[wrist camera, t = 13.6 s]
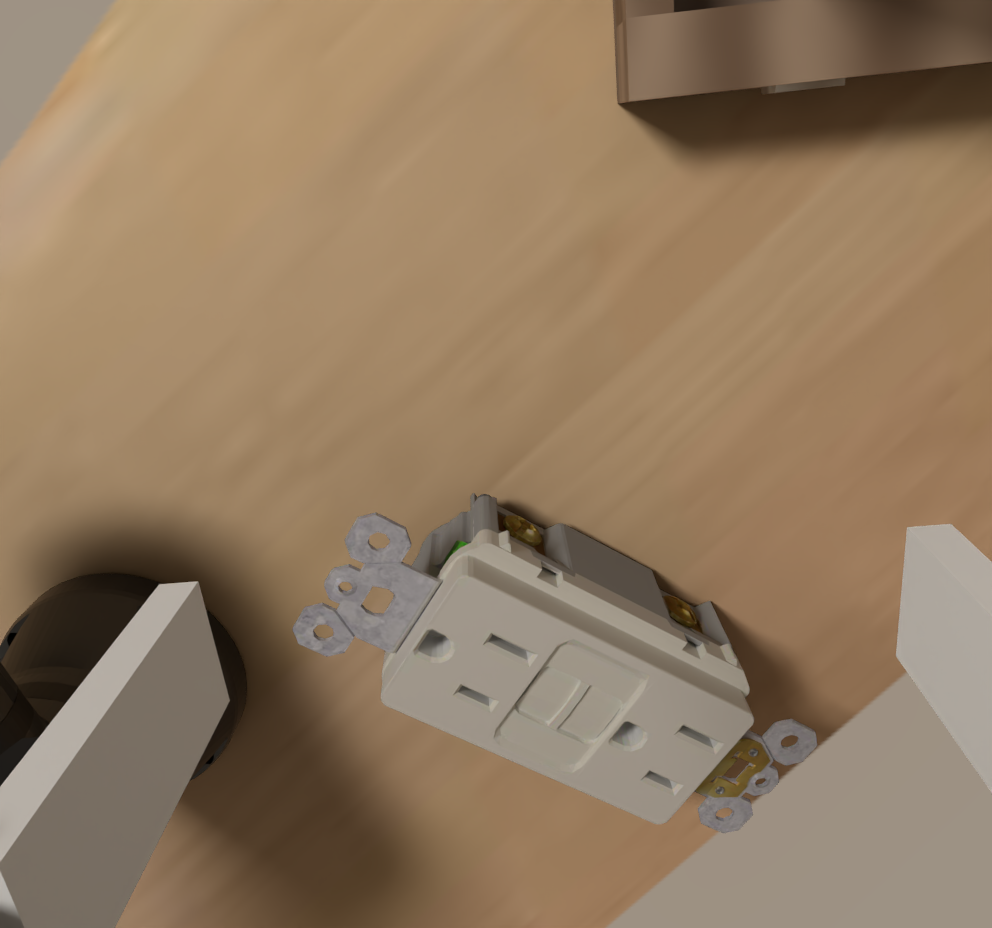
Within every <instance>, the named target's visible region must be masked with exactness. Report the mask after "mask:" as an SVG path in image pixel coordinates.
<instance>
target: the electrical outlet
mask: <svg viewBox="0 0 992 928" xmlns="http://www.w3.org/2000/svg"><path fill="white" fill-rule="evenodd" d="M376 532H379V533H383V534H386V535H387V537H388V538H389V540H390V543H389V544H388V545H387V546H386V547H385V548H380V549H376V548H374V547H373V546H372V545H370V544H369V536H370V535H372V534H374V533H376ZM345 543H346V546H347V549H348V551H349V554H350V557H351V558H353V559H355V560H358V561H360V562H362V563H365V564H364V565H363V567H362V569H359V568H356V567H354V566H352V565H350V564H348V565H344V566H340V567H336V568H333V569H332V570H331V572H330V573H329V575H328V577H327V578H326V580H325V584H324V587H325V589H326V592H327V594H328V597H329V599H330V600H333V601H335V602H337V603H339V604H340V605H339V607H338V608H337V609H335V608H333V607H331V606H329V605H326V604H324V603H319V604H315V605H311V606H307V607H305V608H304V609H303V611H302V613H301V614H300V616H299V618H298V619H297V621H296V623H295V625H294V626H293V632H294V634H295V636H296V639H297V641H298V643H299V644H300V645H302V646H304V647H307V648H309V649H311V650H313V651H316V652H318V653H320V654H322V655H325V656H332V655H336V654H340V653H345V651H346V649H347V648H348V646H349V645H350V643H351V641H352V640H353V638H354V636H356V637H357V638H359V639H361V640H363V641H365V642H367V643H370V644H372V645H374V646H376V647H378V648H381V649H383V650H385V656H384V663H383V670H382V690H381V701H382V702H383V704H384V705H385V706H388V707H390V708H392V709H394V710H397V711H399V712H401V713H403V714H406V715H408V716H410V717H413V718H415V719H417V720H419V721H422V722H424V723H426V724H429V725H431V726H433V727H435V728H438V729H440V730H442V731H444V732H447V733H449V734H451V735H454V736H456V737H458V738H460V739H463V740H465V741H467V742H470V743H472V744H474V745H476V746H479V747H481V748H483V749H485V750H488V751H490V752H492V753H495V754H497V755H499V756H501V757H504V758H506V759H508V760H511V761H513V762H515V763H517V764H520V765H522V766H524V767H526V768H529V769H531V770H533V771H536V772H538V773H540V774H542V775H545V776H547V777H549V778H552V779H554V780H556V781H558V782H561V783H563V784H565V785H567V786H570V787H572V788H574V789H577V790H579V791H581V792H583V793H586V794H588V795H590V796H593V797H595V798H597V799H599V800H602V801H604V802H606V803H608V804H611V805H613V806H615V807H618V808H620V809H622V810H624V811H627V812H629V813H631V814H634V815H636V816H638V817H640V818H643V819H645V820H647V821H649V822H652V823H654V824H663V823H666V822H667V821H668V820H669V819H670V818H671V817H672V816H673V815H674V813H675V812H676V811H677V810H678V809H679V808H680V807H681V806H682V804H683V803H684V802H685V801H686V800H687V799H688V798H689V796H690V795H691V794H692V793H693V792H697V793H699V794H701V795H703V796H705V797H707V798H706V799H705V801H704V802H703V803H702V804H701V805H700V806H699V807H698V812H699V817H700V821H701V824H703V825H706V826H708V827H710V828H712V829H715V830H717V831H719V832H721V833H727V832H732V831H737V830H739V829H740V828H741V827H742V826H743V825H744V824H745V823H746V822H747V821H748V820H749V819H750V818H751V816H752V815H753V813H752V807H751V802H750V800H749V799H747V798H745V797H743V796H742V795H743V794H744V793H745V792H747V793H749V794H751V795H753V796H757V795H762V794H766V793H769V792H771V791H772V790H773V788H774V787H775V786H776V785H777V784H778V783H779V779H778V771H777V769H776V767H774V766H772V765H771V764H772V762H773V761H774V759H775V760H776V761H777V762H779V763H781V764H783V765H785V766H786V765H790V764H795V763H800V762H803V761H804V760H805V758H806V757H807V756H808V755H809V754H810V753H811V752H812V751H813V750H814V749H815V748H816V747H817V739H816V733H815V731H814V730H813V729H811V728H809V727H807V726H805V725H803V724H801V723H799V722H797V721H795V720H793V719H787V720H783V721H778V722H774V723H773V724H772V726H771V727H770V728H769V729H768V730H767V731H766V732H765V733H764V734H763V736H760V735H758V734H756V733H754V732H752V731H750V730H749V728H750V727H751V726H752V725H753V723H754V717H753V714H752V712H751V710H750V708H749V706H748V703H747V701H746V699H745V698H746V696H747V695H748V694H749V690H750V688H749V685H748V682H747V679H746V677H745V674H744V671H743V669H742V667H741V665H740V663H739V660H738V658H737V656H736V654H735V652H734V650H733V648H732V646H731V644H730V642H729V640H728V637H727V635H726V633H725V631H724V629H723V627H722V625H721V623H720V621H719V619H718V617H717V614H716V612H715V610H714V608H713V606H712V604H711V602H710V601H708V602H705V603H703V604H701V605H698V606H696V607H693V606H691V605H689V604H687V603H685V602H684V601H683V600H681V599H679V598H677V597H674V596H672V595H670V594H668V593H666V592H664V591H662V590H660V589H659V588H658V585H657V583H656V580H655V577H654V575H653V572H652V570H650V569H649V568H647V567H645V566H643V565H641V564H639V563H637V562H635V561H633V560H631V559H629V558H628V557H626V556H624V555H622V554H620V553H618V552H616V551H614V550H612V549H610V548H608V547H607V546H605V545H603V544H601V543H599V542H597V541H595V540H593V539H591V538H589V537H587V536H586V535H584V534H582V533H580V532H578V531H576V530H574V529H572V528H570V527H568V526H566V525H564V524H556V525H554V526H552V527H549V528H547V529H545V530H544V529H543V528H541V527H539V526H537V525H535V524H533V523H531V522H529V521H527V520H526V519H524V518H522V517H520V516H517V515H515V514H514V513H512V512H510V511H508V510H506V509H504V508H502V507H500V506H498V505H497V500H496V498H494V497H490V496H489V495H486V494H483V495H480V496H479V497H478V498H477V496H476V495H475V494H474V493H473V494H472V495H471V511H468V512H461V513H460V514H459V515H458V516H457V517H455V518H454V519H452V520H451V521H450V522H449V523H446V524H444V525H442V526H440V527H439V528H437V529H435V530H434V531H432V532H431V533H430V534H429V536H428V537H427V538H426V539H425V541H424V542H423V544H422V547H421V549H420V553H419V555H418V556H417V558H416V559H415V561H414V563H413V564H412V566H410V565H408V564H406V563H404V562H401V561H402V560H403V558H404V557H405V555H406V553H407V552H408V550H409V549H410V547H411V541H410V538H409V535H408V532H407V530H406V527H404V526H402V525H400V524H398V523H396V522H394V521H392V520H390V519H388V518H386V517H384V516H382V515H380V514H378V513H372V514H368V515H364V516H360V517H358V518H357V519H356V521H355V523H354V524H353V526H352V528H351V530H350V531H349V533H348V535H347V536H346V538H345ZM341 582H349V583H350V584H351V585H352V589H351V590H349V591H344V590H341V588H340V587H339V584H340V583H341ZM372 586H375V587H381V588H386V589H389V590H390V591H391V592H392V593H393V594H394V597H393V600H392V601H391V603H390V605H389V606H388V608H387V609H386V611H385V613H384V614H381V613H373V612H371V611H369V610H367V609H365V608H364V606H363V605H362V603H363V601H364V599H365V598H366V596H367V594H368V593H369V591H370V590H371V588H372ZM323 624H327V625H328V626H330V627H331V628H332V629H333V631H334V634H333V636H331V637H329V638H327V639H324V638H321V637H318V636H317V635H316V633H315V632H314V628H315V627H316V626H317V625H323ZM789 735H794V736H797V737H798V741H797V743H796V744H795V745H792V746H790V747H785V746H782V745H781V741H782V739H784V738H785V737H786V736H789ZM733 757H738V758H741V759H743V760H745V761H747V762H750V763H749V764H748V765H747V766H746V768H745V769H744V770H743V771H742V772H741V773H740V774H739V775H738V776H737V777H736V778H728V777H725V776H723V775H724V774H725V773H726V772H727V771H728V770H729V768H730V767H731V766H732V765H733V764H734V763H735V762H736V761H737V759H736V758H733ZM759 778H765V779H766V781H765V782H764V783H762V784H756V783H755V782H756V780H758V779H759ZM722 808H730V809H731V810H733V812H732V813H731V815H730V816H728V817H725V818H721V817H717V816H716V813H717V811H718V810H720V809H722Z"/></svg>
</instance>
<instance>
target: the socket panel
mask: <svg viewBox="0 0 992 928" xmlns="http://www.w3.org/2000/svg"><path fill="white" fill-rule="evenodd" d="M613 11H614V34H615V56H616V79H617V101H618V104H619V103H628V102H637V101H646V100H655V99H665V98H674V97H683V96H692V95H701V94H710V93H719V92H728V91H737V90H746V89H755V88H761V94H770V93H779V92H788V91H797V90H807V89H816V88H825V87H834V86H842V85H845V79H846V78H855V77H864V76H873V75H882V74H892V73H901V72H910V71H919V70H928V69H937V68H946V67H955V66H964V65H973V64H982V63H991V62H992V0H613Z"/></svg>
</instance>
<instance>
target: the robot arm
mask: <svg viewBox="0 0 992 928" xmlns="http://www.w3.org/2000/svg"><path fill="white" fill-rule="evenodd" d="M896 657H897V658H898V660H899V661H900V663H901V664H902V665H903V667H904V668H905V670H906V671H907V673H908V674H909V675H910V677H911V678H912V680H913V681H914V683H915V684H916V685H917V687H918V688H919V690H920V691H921V693H922V694H923V695H924V697H925V698H926V700H927V701H928V703H929V704H930V705H931V707H932V708H933V710H934V711H935V713H936V714H937V715H938V717H939V718H940V720H941V721H942V723H943V724H944V725H945V727H946V728H947V730H948V731H949V732H950V734H951V735H952V737H953V738H954V740H955V741H956V742H957V744H958V745H959V747H960V748H961V750H962V751H963V753H964V754H965V755H966V757H967V758H968V760H969V761H970V762H971V764H972V765H973V767H974V768H975V770H976V771H977V773H978V774H979V775H980V777H981V778H982V780H983V781H984V783H985V784H986V785H987V786H988V788H989V789H990V791H991V792H992V562H991V561H990V560H989V559H988V558H987V557H986V556H985V555H984V554H982V553H981V552H980V551H979V550H978V549H977V548H976V547H975V546H974V545H973V544H972V543H971V542H970V541H969V540H968V539H966V538H965V537H964V536H963V535H962V534H961V533H960V532H959V531H958V530H957V529H956V528H955V527H954V526H953V525H952V524H944V525H930V526H917V527H907V535H906V546H905V558H904V569H903V581H902V592H901V604H900V615H899V627H898V638H897V650H896ZM246 693H247V683H246V675H245V670H244V666H243V663H242V660H241V657H240V654H239V652H238V650H237V648H236V646H235V644H234V642H233V641H232V639H231V638H230V636H229V635H228V633H227V632H226V630H225V629H224V628H223V627H222V625H221V624H220V623H219V622H218V621H217V620H216V619H215V618H214V617H213V616H212V615H211V614H210V613H209V612H208V611H207V610H206V609H205V605H204V601H203V597H202V593H201V590H200V586H199V582H198V581H197V582H183V583H170V584H161V583H158V582H156V581H153V580H149V579H146V578H141V577H137V576H131V575H124V574H95V575H88V576H82V577H78V578H74V579H71V580H68V581H66V582H63V583H61V584H59V585H57V586H55V587H53V588H51V589H50V590H48V591H47V592H45V593H44V594H43V595H41V596H40V597H39V598H38V599H37V600H36V601H35V602H34V603H33V604H32V605H31V606H30V607H29V608H28V609H27V610H26V611H25V612H24V613H23V614H22V615H21V616H20V617H19V618H18V619H17V620H16V621H15V622H14V623H13V625H12V626H11V628H10V629H9V630H8V632H7V633H6V635H5V637H4V639H3V641H2V643H1V645H0V928H115V926H116V924H117V922H118V920H119V918H120V917H121V915H122V913H123V911H124V909H125V907H126V905H127V903H128V901H129V899H130V897H131V895H132V893H133V891H134V889H135V887H136V885H137V883H138V881H139V879H140V877H141V875H142V873H143V871H144V869H145V867H146V865H147V863H148V861H149V859H150V857H151V855H152V853H153V851H154V849H155V847H156V845H157V843H158V841H159V839H160V837H161V836H162V834H163V832H164V830H165V828H166V826H167V824H168V822H169V820H170V818H171V816H172V814H173V812H174V810H175V808H176V806H177V804H178V802H179V800H180V798H181V796H182V794H183V792H184V790H185V788H186V786H187V784H188V782H189V781H190V780H192V779H194V778H196V777H197V776H198V775H200V774H201V773H202V772H204V771H205V770H206V769H207V768H208V767H210V766H211V765H212V764H213V763H214V762H215V761H216V760H217V758H218V757H219V756H220V755H221V754H222V752H223V751H224V749H225V748H226V747H227V745H228V743H229V741H230V739H231V737H232V735H233V733H234V731H235V729H236V727H237V725H238V723H239V721H240V718H241V716H242V713H243V710H244V707H245V702H246Z"/></svg>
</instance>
